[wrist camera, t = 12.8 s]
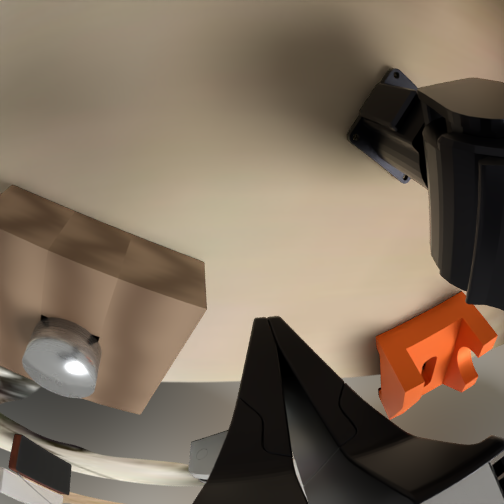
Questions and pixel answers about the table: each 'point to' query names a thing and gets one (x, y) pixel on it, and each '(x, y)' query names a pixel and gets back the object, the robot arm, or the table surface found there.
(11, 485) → the grey rectangular block
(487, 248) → the robot arm
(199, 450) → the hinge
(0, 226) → the walnut block
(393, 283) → the table surface
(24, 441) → the radio
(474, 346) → the tape dispenser
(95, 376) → the steel peg
